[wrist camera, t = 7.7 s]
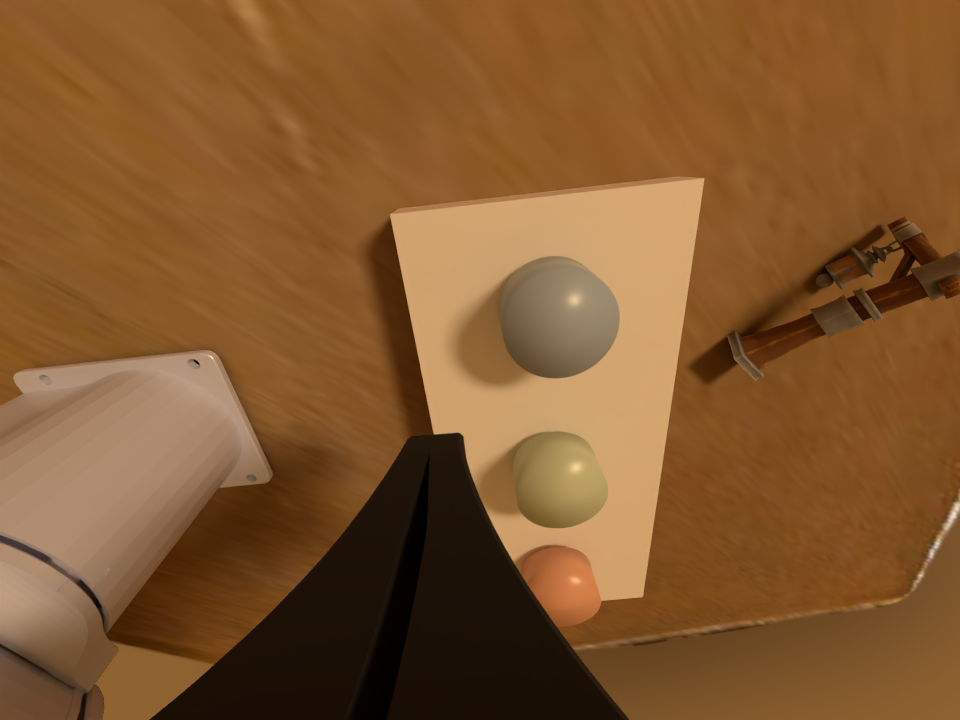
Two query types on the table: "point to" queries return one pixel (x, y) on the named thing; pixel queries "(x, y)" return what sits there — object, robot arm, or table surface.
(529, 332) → the slate button
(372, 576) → the robot arm
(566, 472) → the sage button
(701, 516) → the table surface
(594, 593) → the orange rounded dome
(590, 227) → the button panel
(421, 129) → the table surface
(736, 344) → the wooden post with brackets
